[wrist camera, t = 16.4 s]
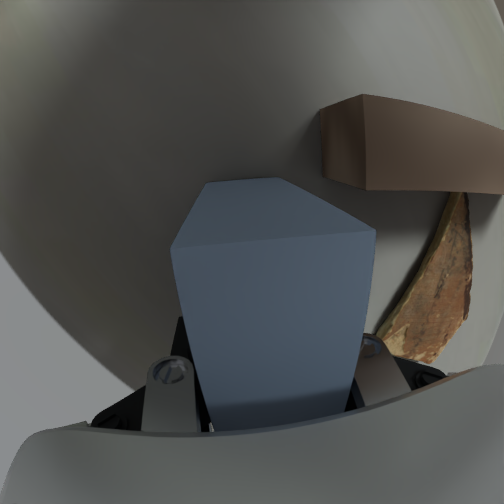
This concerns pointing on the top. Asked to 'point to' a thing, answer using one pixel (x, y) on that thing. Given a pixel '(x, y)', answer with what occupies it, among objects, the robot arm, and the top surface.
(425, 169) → the bar
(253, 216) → the block
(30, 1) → the top surface
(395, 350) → the shard
